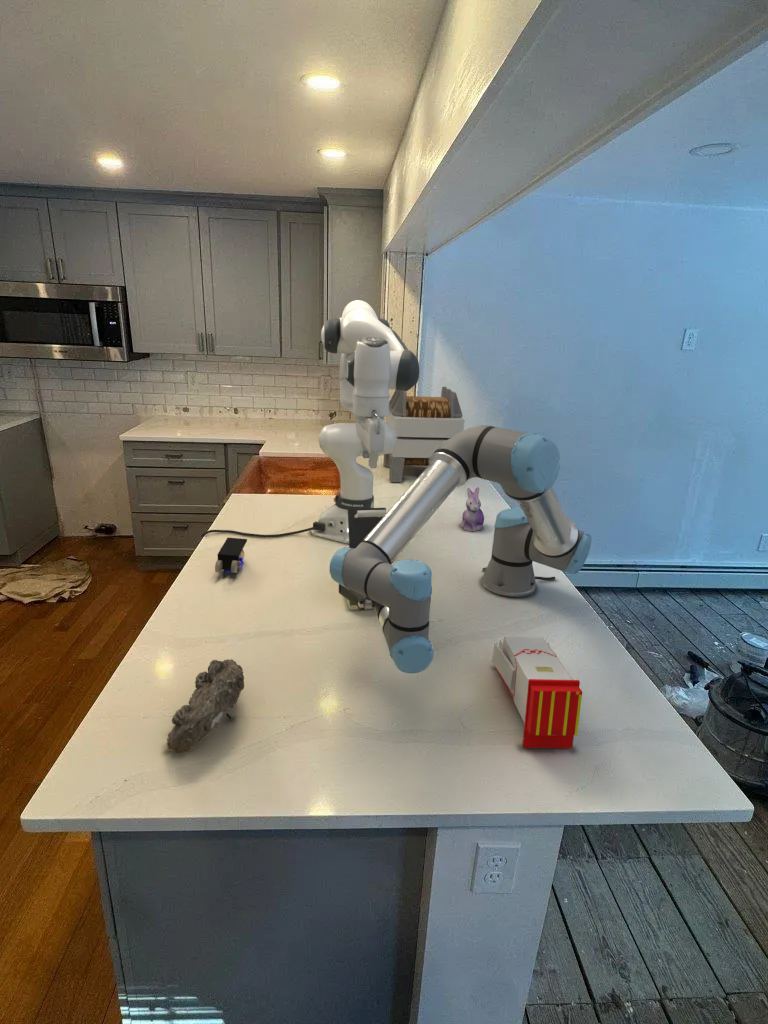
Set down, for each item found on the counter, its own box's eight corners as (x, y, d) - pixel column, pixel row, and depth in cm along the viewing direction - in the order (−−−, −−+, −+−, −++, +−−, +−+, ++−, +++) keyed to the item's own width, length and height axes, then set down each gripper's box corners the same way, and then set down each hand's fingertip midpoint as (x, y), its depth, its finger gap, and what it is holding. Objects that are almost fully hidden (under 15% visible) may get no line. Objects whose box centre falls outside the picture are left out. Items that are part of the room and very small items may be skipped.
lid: (347, 509, 148) (351, 504, 140) (385, 508, 150) (391, 503, 142) (350, 575, 146) (354, 575, 138) (388, 573, 148) (395, 573, 140)
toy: (540, 620, 128) (592, 687, 99) (535, 674, 131) (584, 755, 102) (487, 619, 128) (523, 686, 99) (483, 673, 131) (517, 754, 101)
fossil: (192, 660, 117) (244, 628, 112) (224, 691, 120) (276, 661, 115) (142, 746, 98) (202, 712, 93) (182, 779, 101) (242, 748, 96)
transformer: (382, 463, 289) (386, 382, 275) (445, 464, 293) (451, 384, 279) (390, 482, 257) (394, 392, 243) (460, 483, 261) (468, 394, 247)
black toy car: (238, 584, 162) (249, 557, 175) (236, 562, 158) (247, 536, 172) (215, 584, 161) (227, 556, 175) (212, 561, 158) (225, 535, 171)
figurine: (470, 533, 202) (474, 493, 197) (453, 524, 211) (457, 485, 206) (491, 530, 207) (495, 491, 202) (474, 520, 215) (478, 483, 210)
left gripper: (392, 415, 129) (390, 473, 134) (376, 400, 148) (374, 452, 153) (365, 415, 128) (363, 474, 132) (352, 400, 147) (351, 452, 151)
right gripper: (335, 636, 114) (324, 586, 133) (453, 626, 119) (426, 580, 138) (335, 603, 111) (324, 557, 131) (456, 595, 116) (428, 552, 135)
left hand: (369, 462), depth 143 cm, fingers open, 8 cm apart
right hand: (377, 569), depth 134 cm, fingers open, 13 cm apart
